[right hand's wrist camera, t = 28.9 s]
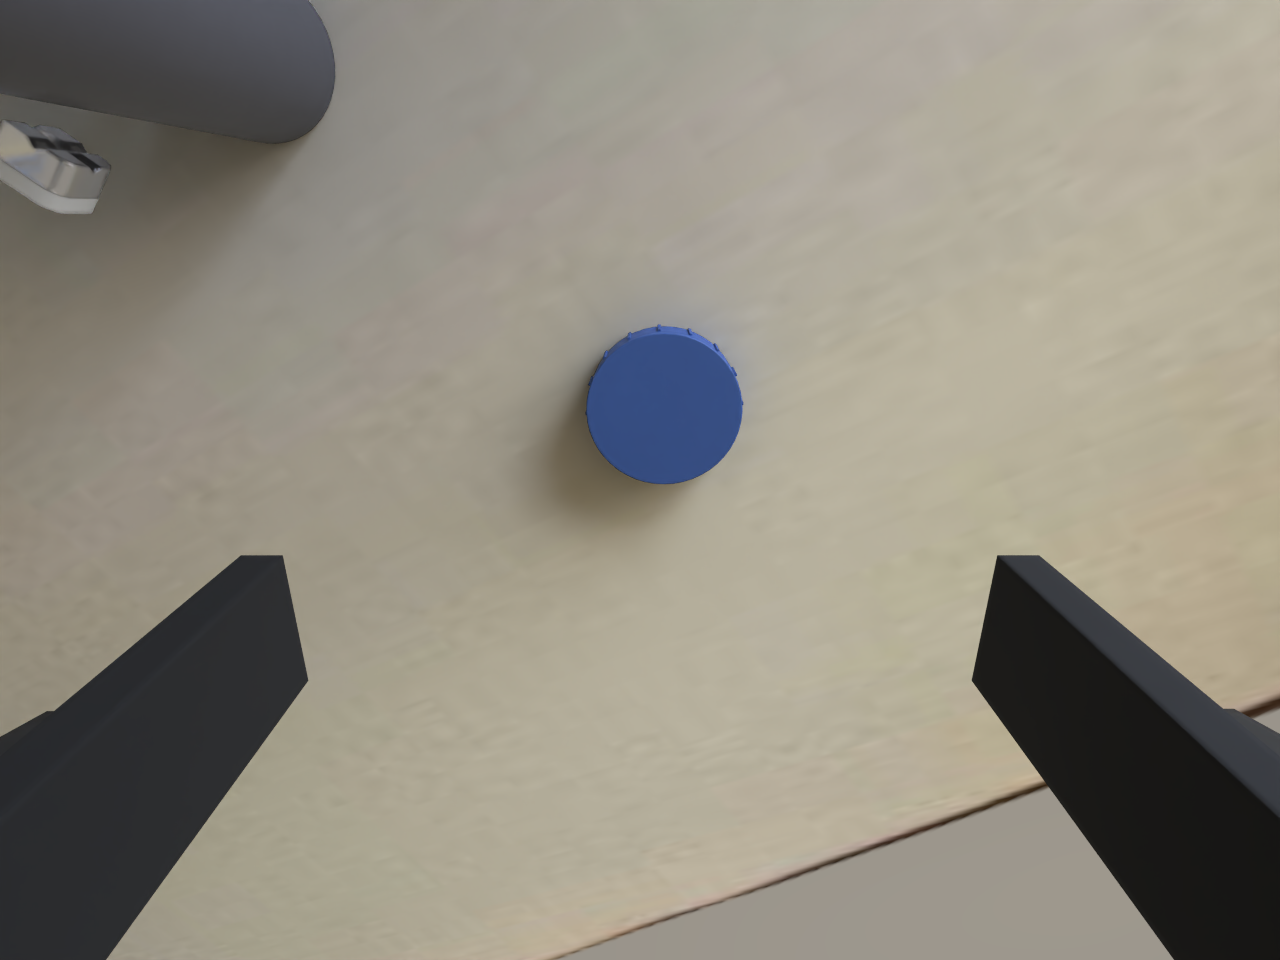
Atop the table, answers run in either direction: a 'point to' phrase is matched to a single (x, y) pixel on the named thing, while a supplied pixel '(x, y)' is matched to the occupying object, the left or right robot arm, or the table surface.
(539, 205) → the table surface
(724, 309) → the table surface
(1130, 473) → the table surface
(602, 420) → the lid
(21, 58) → the dark grey bottle
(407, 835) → the table surface
